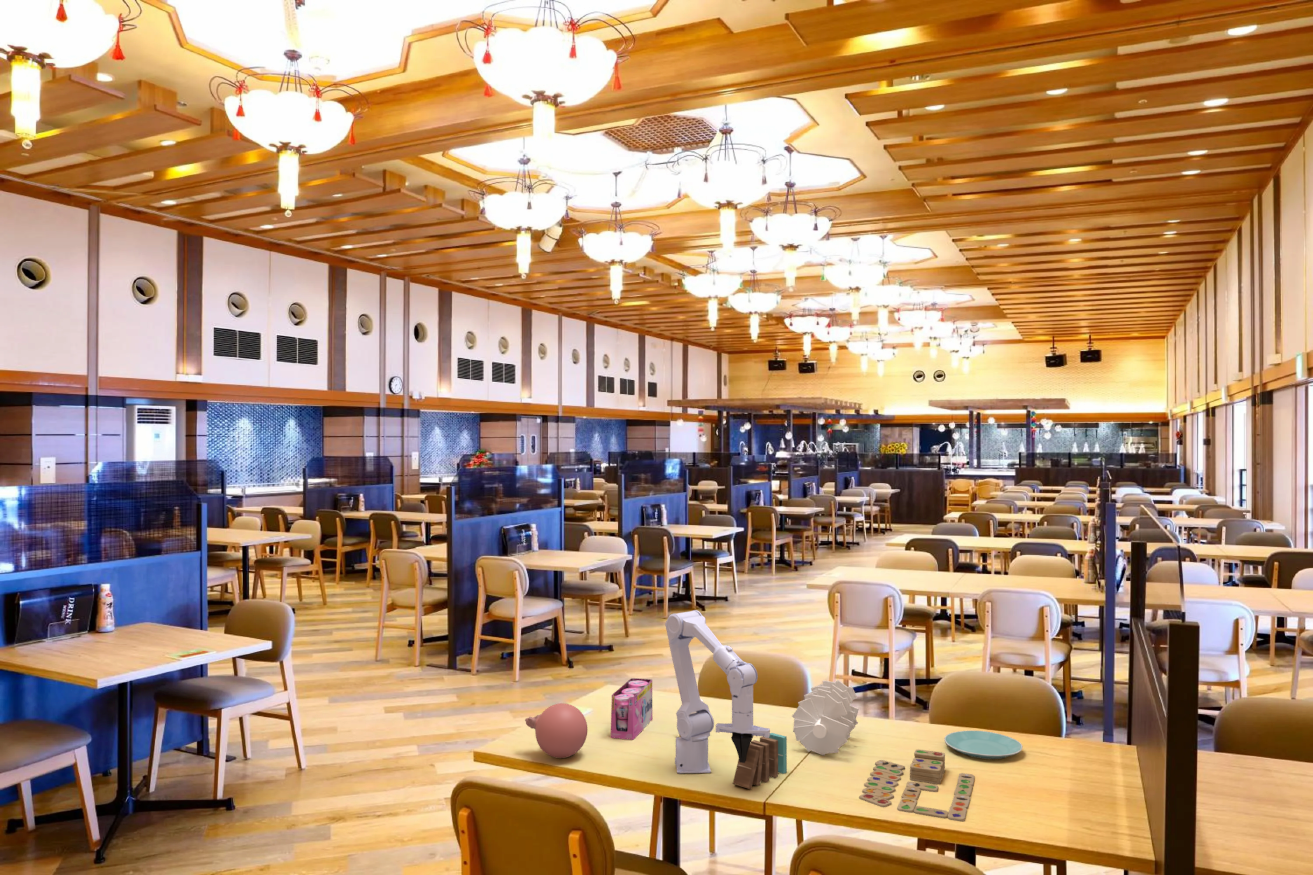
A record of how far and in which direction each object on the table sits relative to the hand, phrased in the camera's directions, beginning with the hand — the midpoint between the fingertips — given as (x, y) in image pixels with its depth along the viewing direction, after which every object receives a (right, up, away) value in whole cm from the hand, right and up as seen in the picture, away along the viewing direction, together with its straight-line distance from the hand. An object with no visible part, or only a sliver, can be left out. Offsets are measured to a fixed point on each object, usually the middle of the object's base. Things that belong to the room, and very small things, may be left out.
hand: (742, 761), depth 231 cm
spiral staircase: (+29, -8, +34) cm, 45 cm away
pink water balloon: (-53, -8, +25) cm, 60 cm away
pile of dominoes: (+46, -8, -1) cm, 47 cm away
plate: (+75, -8, +29) cm, 81 cm away
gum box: (-31, -9, +51) cm, 60 cm away
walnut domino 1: (0, -7, 0) cm, 7 cm away
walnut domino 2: (+2, -7, +3) cm, 8 cm away
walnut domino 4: (+8, -7, +9) cm, 14 cm away
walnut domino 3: (+5, -7, +6) cm, 10 cm away
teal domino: (+11, -7, +12) cm, 18 cm away
